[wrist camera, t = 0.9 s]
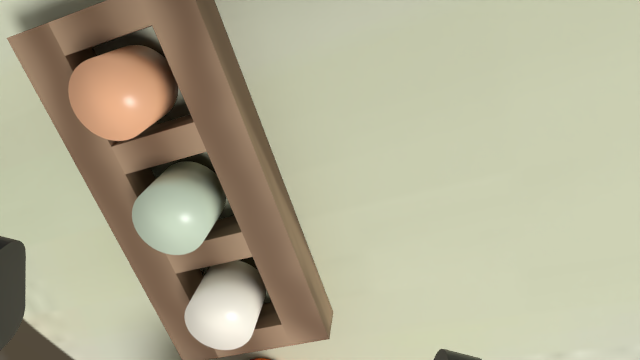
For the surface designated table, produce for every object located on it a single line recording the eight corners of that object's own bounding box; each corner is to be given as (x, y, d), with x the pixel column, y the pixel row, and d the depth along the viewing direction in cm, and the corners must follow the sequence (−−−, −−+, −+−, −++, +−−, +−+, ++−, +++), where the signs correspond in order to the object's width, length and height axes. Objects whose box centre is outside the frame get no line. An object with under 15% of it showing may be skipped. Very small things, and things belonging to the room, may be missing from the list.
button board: (202, -31, 30) (183, -29, 27) (333, 312, 39) (329, 339, 36) (38, 31, 32) (6, 38, 30) (197, 336, 42) (184, 363, 39)
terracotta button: (158, 34, 30) (126, 45, 26) (190, 108, 32) (165, 128, 28) (91, 57, 31) (52, 71, 27) (126, 128, 33) (93, 149, 29)
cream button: (252, 253, 36) (238, 287, 32) (275, 306, 37) (263, 343, 34) (193, 266, 37) (173, 301, 33) (218, 317, 39) (201, 354, 35)
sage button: (209, 153, 33) (187, 178, 29) (236, 215, 35) (218, 246, 31) (147, 171, 34) (118, 197, 30) (176, 230, 36) (152, 261, 32)
